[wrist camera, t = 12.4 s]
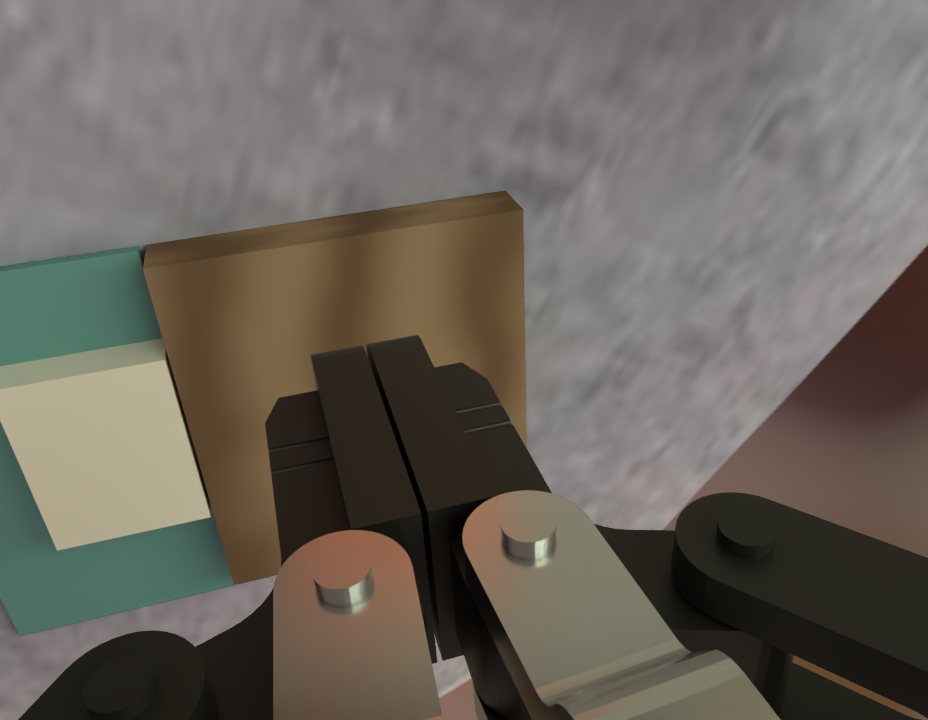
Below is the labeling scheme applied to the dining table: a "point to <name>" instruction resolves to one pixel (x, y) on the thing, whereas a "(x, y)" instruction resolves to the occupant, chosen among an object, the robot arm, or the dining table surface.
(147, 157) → the dining table surface
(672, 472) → the dining table surface
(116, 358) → the tile
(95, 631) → the dining table surface
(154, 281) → the brown wooden board
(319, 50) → the dining table surface
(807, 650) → the robot arm
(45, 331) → the mat
